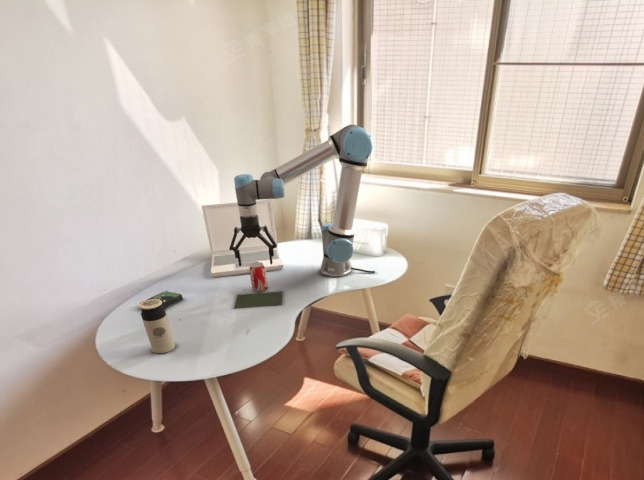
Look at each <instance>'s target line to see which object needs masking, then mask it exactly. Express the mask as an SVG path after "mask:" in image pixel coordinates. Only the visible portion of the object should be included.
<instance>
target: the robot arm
mask: <svg viewBox="0 0 644 480" xmlns="http://www.w3.org/2000/svg"><path fill="white" fill-rule="evenodd" d="M373 148H374V142H373V138H372V136H371V134H370V132H369V131H368V130H366V128H364V127H361V126H359V125H357V124H347V125H345V126H344V127H342V128H340V129H339V130H338V131H336V132H334V133H332V134H331V135H328V137H327V140H325V141H324V142H322V143H320V144H318V145H316V146H314V147H313V148H311V149H308V150H307V151H306V152H305V151H304V152H303V153H302V154H299V155H298V156H296V157H294V158H292V159H290V160H289V161H287V162H285V163H283V164H281V165H279V166H277V167H275V168H274V169H272V170H270V171H264V173H262V174H261V176H260V178H259V179H254V178H253V177H254V176H253V175H252V174H247V173H246V174H243V173H242V174H238V175H235V176H234V178H233V182H234V190H235V194H236V195H235V197H236V202H237V203H238V209H239V215H241V216H240V222H241V228H237V227H235V228H234V236H233V239H232V242H231V245H230V248H229V249H230V250H233V251H234V253H235V258H238V262H239V266H241V258H240V252H239V250H238V248H239V247H240V245H241V244H242V242H243V241H244V239H245V238H246V237H247V238H256V237H258V238H259V239H260V240H261V241H263V242H264V243H265V244H266V245H267V246H268V247H269V257H270V264H272V256H274V250H273V249H274V248H276V247H277V244H278V243H277V244H276V242H275V240H274V239H273V237H272V236H271V234H270V233H269V231H268V228H267V226H266V225H265V226H263V227H260V225H259V219H258V215H257V213H258V212H257V205H256V201H259V200H270V199H272V200H278V199H282V198H284V197H285V187H284V186H286V185H288V184H290V183H292V182H293V181H296V180H297V179H299V178H301V177H303V176H305V175H306V174H308V173H309V174H310V173H311V172H312V171H314V170H316V169H318V168H320V167H322V166H324V165H325V164H327V163H329V162H332V161H333V160H335V159H337V160H338V162H339V164H340V165H341V169H340V175H339V181H338V189H337V195H336V200H335V201H336V202H335V207H334V214H333V221H332V222H331V223H324V224H323V225H322V226H321V238H322V239H321V241H322V256H323V257H322V261H321V265H320V273H321V275H323V276H325V277H329V278H341V277H345V276H348V275H350V274H351V273H352V272H353V271H357V272H363V273H367V274H375V273H376V270H366V269H362V268H356V267H353V266H352V263H351V261H350V260H351V258H352V257H353V256H354V253H355V247H354V240H355V234H356V233H355V231H354V229H353V225H354V219H355V213H356V208H357V203H358V198H359V197H358V196H359V190H360V185H361V179H362V173H363V171H364V169H367V167H368V162H369V158H370V156H371V155H372V152H373ZM261 230H263V232H265V234H266V235H267V237H268V238H269V240H270V241H271V243H272V244H273V245H272V244H271V243H270V242H269V241H267V240H266V239H265V238H264V237H263V236H262V234H261V233H260V231H261ZM239 231H241V232H242V233H243V236H242V237H241V239H240V240H239V242H238V243H237V245H236V246H235V247H233V246H234V242H235V239H236V236H237V233H239Z"/></svg>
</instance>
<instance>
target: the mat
mask: <svg viewBox="0 0 644 480" xmlns="http://www.w3.org/2000/svg"><path fill="white" fill-rule="evenodd" d="M282 305H283V291H271V292H270V291H269V292H256V293H244V294H237V295H236V300H235V303H234V307H233V309H245V308H258V307H259V308H261V307H271V306H273V307H274V306H282Z"/></svg>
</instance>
